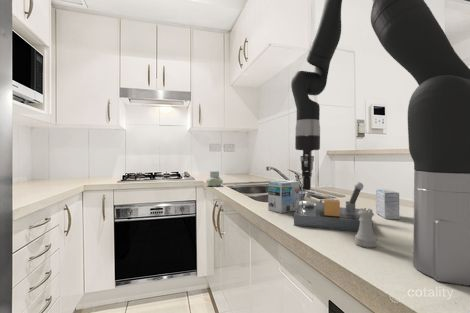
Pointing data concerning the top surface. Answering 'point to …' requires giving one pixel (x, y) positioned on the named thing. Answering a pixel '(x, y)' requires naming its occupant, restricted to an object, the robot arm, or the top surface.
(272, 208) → the light bulb box
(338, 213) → the slider knob
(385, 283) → the top surface
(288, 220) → the top surface
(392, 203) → the medicine box
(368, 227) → the rook chess piece
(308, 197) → the rocker paddle
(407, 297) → the top surface
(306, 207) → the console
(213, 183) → the air freshener
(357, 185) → the lever
